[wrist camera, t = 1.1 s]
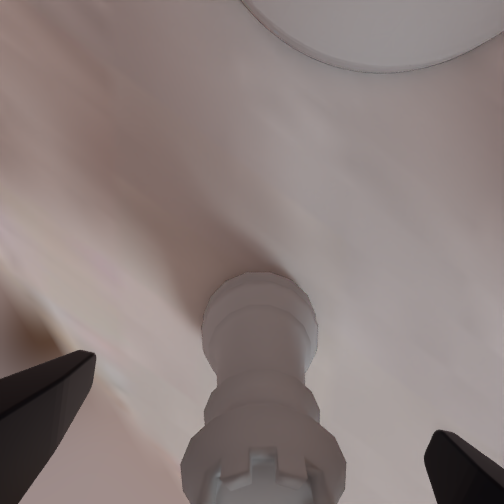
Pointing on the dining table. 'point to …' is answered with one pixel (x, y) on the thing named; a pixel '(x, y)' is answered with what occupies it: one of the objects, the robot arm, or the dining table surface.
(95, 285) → the dining table surface
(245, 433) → the rook chess piece
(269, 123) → the dining table surface
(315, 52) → the candlestick
